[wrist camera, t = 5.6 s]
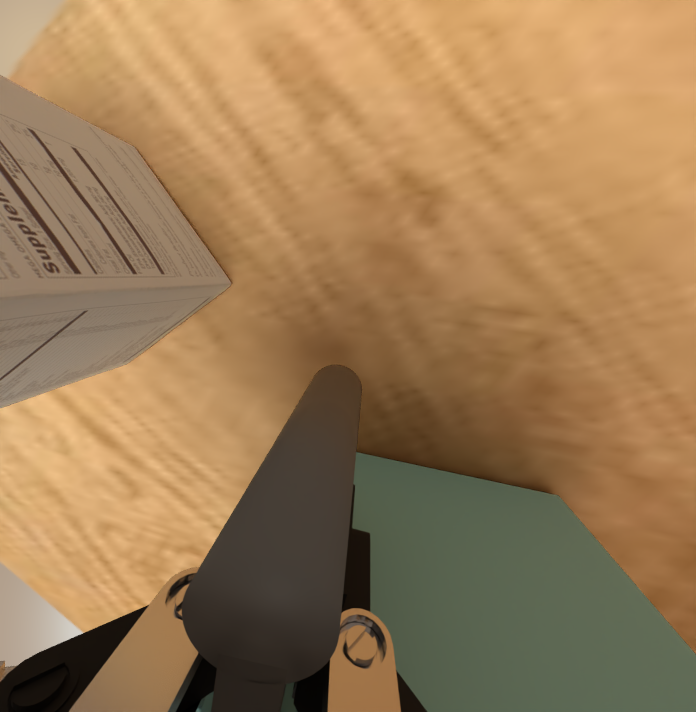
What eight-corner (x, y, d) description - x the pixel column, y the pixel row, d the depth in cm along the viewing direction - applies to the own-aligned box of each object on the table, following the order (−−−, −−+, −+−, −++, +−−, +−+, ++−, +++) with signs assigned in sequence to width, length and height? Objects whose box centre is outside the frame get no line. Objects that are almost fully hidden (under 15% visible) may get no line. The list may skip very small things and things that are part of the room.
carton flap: (598, 393, 19) (1463, 826, 4) (554, 506, 21) (1033, 1103, 6) (324, 336, 19) (158, 533, 4) (303, 452, 21) (133, 877, 6)
